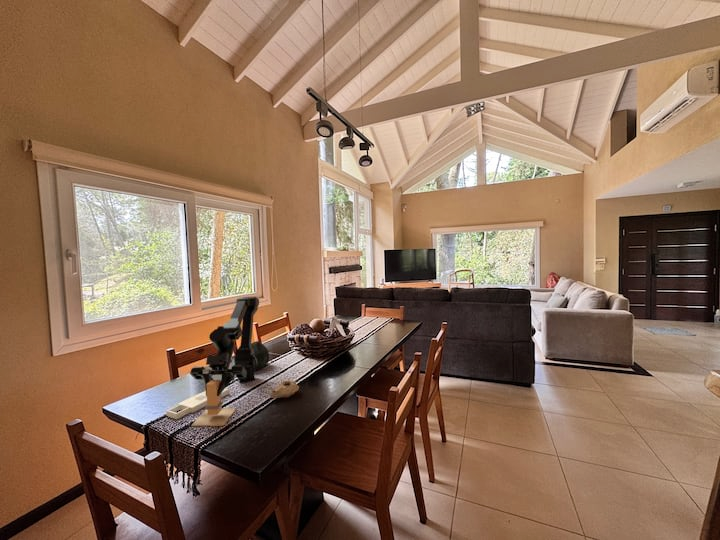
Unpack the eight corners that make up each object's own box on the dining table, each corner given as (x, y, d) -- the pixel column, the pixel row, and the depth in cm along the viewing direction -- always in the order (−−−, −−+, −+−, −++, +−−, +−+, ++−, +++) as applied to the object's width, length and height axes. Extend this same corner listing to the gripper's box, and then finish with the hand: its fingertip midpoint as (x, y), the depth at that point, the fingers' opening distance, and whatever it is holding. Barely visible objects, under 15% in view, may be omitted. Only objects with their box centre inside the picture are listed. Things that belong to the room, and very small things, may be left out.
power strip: (215, 390, 127) (215, 384, 127) (229, 393, 124) (228, 387, 124) (164, 415, 108) (164, 408, 107) (178, 420, 104) (178, 412, 104)
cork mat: (206, 410, 111) (206, 409, 111) (236, 409, 111) (236, 407, 111) (191, 426, 100) (190, 425, 100) (223, 425, 100) (223, 424, 100)
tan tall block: (211, 409, 108) (210, 379, 107) (223, 408, 108) (222, 379, 107) (205, 415, 103) (204, 384, 103) (218, 415, 104) (217, 384, 103)
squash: (234, 355, 157) (239, 338, 149) (262, 351, 166) (268, 334, 157) (239, 379, 148) (244, 363, 140) (268, 373, 157) (275, 357, 149)
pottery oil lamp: (263, 398, 119) (266, 380, 122) (289, 399, 126) (291, 381, 129) (274, 397, 113) (276, 377, 116) (301, 398, 120) (302, 380, 123)
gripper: (191, 345, 108) (174, 388, 98) (242, 343, 109) (232, 386, 98) (202, 359, 117) (188, 399, 106) (250, 357, 117) (241, 398, 107)
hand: (212, 395), depth 104 cm, fingers closed on tan tall block, 3 cm apart
